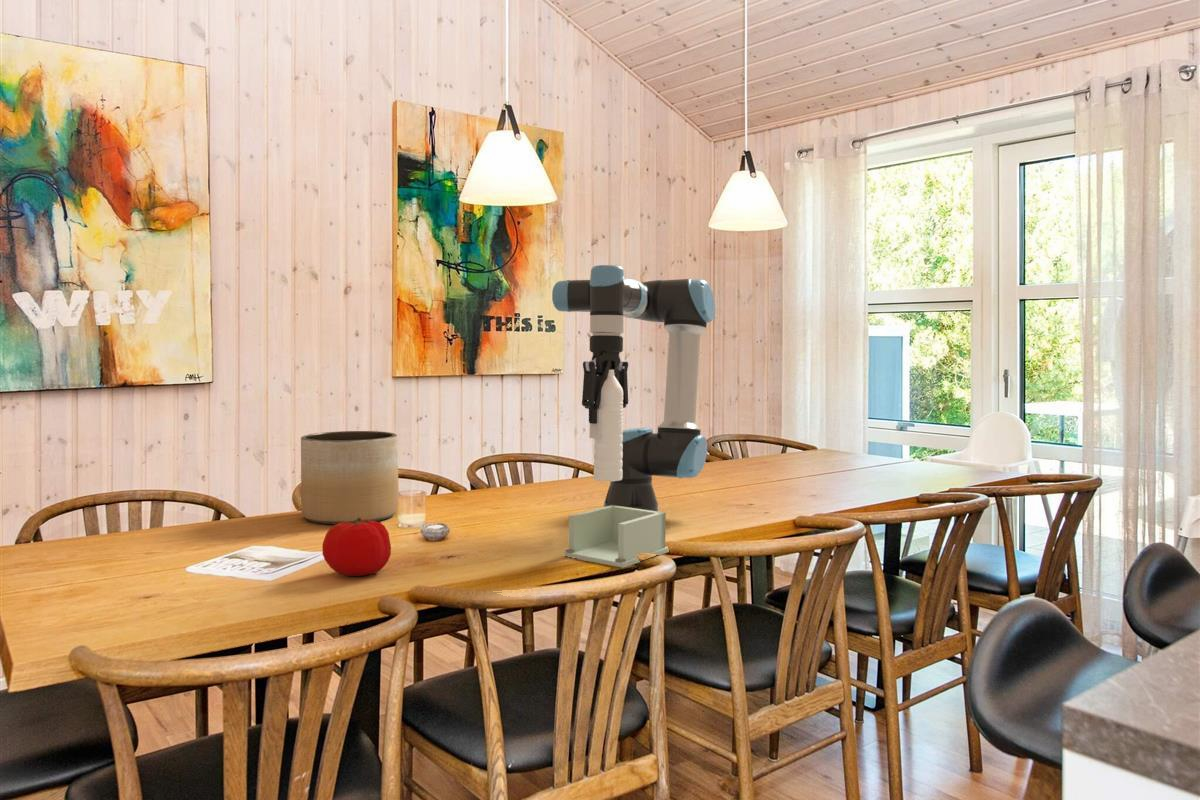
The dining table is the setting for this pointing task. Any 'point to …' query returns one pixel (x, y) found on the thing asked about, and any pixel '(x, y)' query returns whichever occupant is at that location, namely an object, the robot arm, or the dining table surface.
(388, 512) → the planter
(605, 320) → the robot arm
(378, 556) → the tomato
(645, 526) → the u rest
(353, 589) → the dining table surface
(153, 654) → the dining table surface
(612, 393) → the water bottle
